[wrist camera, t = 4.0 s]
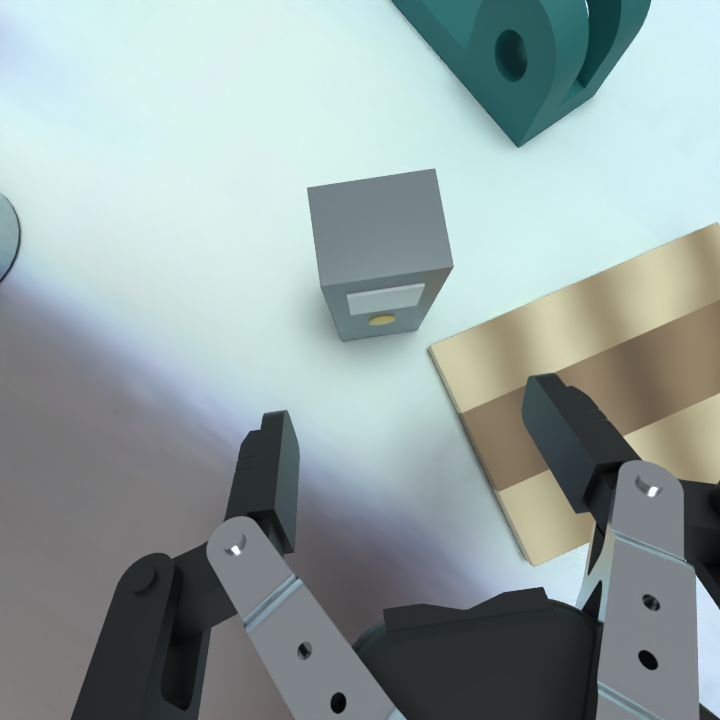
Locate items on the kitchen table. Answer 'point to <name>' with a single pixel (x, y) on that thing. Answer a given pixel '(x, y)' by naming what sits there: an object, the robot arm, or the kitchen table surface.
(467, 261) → the kitchen table surface
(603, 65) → the bracket
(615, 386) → the plywood panel
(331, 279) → the grey upright block
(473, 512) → the kitchen table surface
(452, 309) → the kitchen table surface
